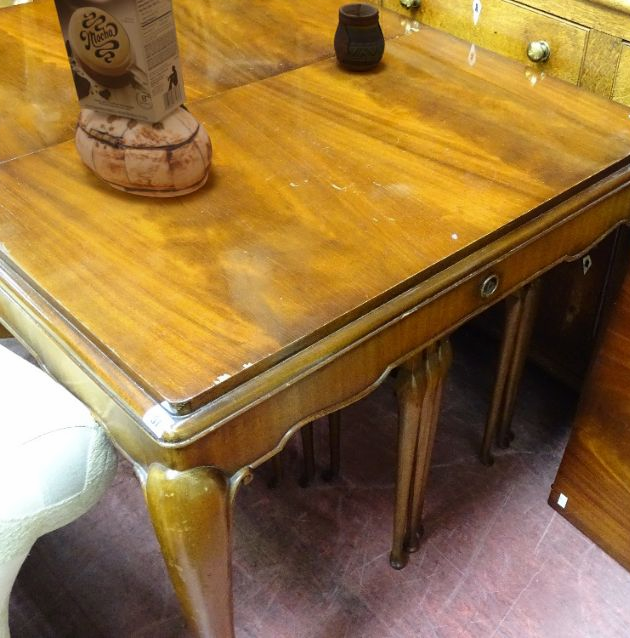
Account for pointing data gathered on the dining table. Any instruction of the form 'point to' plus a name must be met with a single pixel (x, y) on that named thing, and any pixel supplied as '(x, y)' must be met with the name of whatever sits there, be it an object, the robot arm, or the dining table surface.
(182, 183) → the trinket box
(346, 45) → the mate gourd
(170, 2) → the coffee box
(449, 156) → the dining table surface
